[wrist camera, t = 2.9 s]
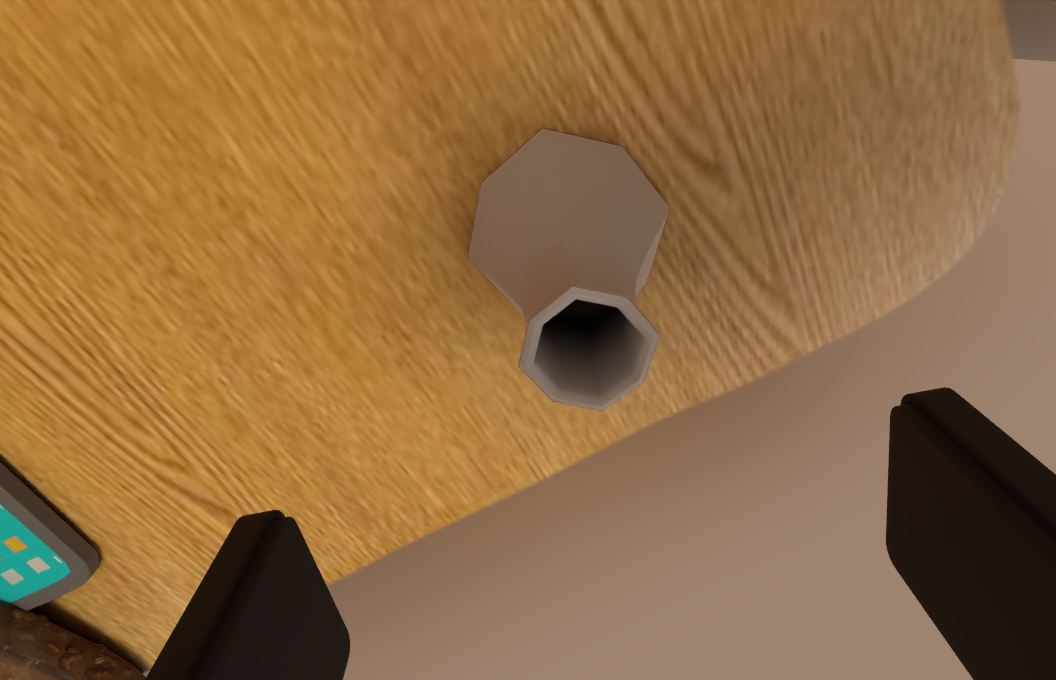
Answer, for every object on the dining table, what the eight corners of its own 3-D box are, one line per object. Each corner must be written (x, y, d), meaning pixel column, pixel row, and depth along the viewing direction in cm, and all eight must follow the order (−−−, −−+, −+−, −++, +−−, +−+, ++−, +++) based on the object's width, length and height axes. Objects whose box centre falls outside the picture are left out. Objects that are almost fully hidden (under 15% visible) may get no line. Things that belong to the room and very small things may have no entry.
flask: (436, 263, 25) (383, 398, 16) (533, 89, 22) (535, 133, 13) (594, 349, 26) (628, 516, 17) (703, 196, 24) (809, 302, 15)
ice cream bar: (-135, 558, 27) (175, 704, 33) (-89, 516, 31) (180, 654, 37) (-243, 665, 26) (96, 795, 32) (-182, 608, 30) (110, 734, 36)
